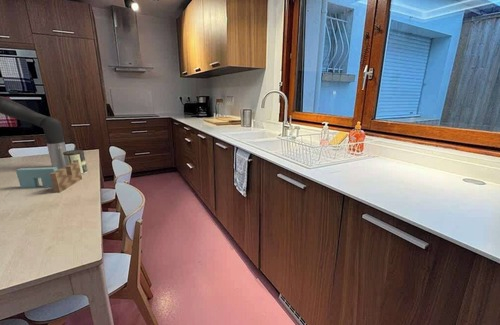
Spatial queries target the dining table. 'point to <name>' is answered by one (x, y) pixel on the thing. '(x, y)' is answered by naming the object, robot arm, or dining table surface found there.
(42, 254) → the dining table surface
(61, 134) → the robot arm
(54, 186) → the base plate
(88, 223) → the dining table surface
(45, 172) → the cross plate
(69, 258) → the dining table surface
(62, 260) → the dining table surface
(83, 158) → the coffee can
